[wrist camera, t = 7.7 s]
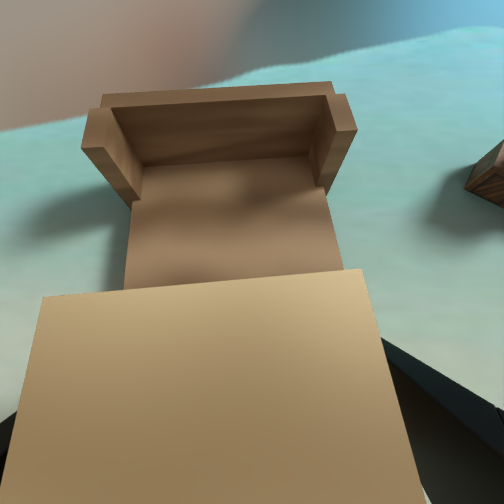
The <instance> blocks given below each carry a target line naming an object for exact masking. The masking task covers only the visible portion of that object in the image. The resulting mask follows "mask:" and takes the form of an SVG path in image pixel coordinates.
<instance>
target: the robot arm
mask: <svg viewBox="0 0 504 504" xmlns="http://www.w3.org/2000/svg"><path fill="white" fill-rule="evenodd" d="M380 338H381V337H380ZM381 341H382V345H383V348H384V352H385V356H386V359H387V363H388V367H389V370H390V374H391V377H392V381H393V385H394V388H395V392H396V395H397V399H398V403H399V406H400V410H401V413H402V417H403V421H404V424H405V428H406V432H407V435H408V439H409V442H410V446H411V450H412V453H413V457H414V460H415V464H416V468H417V471H418V475H419V479H420V482H421V485H422V487H423V488H424V490H425V492H426V494H427V496H428V498H429V500H430V502H431V503H432V504H504V411H503V410H502V409H500V408H498V407H495V406H494V405H493V404H491V403H490V402H488V401H486V400H485V399H483V398H481V397H480V396H478V395H476V394H475V393H473V392H471V391H470V390H468V389H466V388H465V387H463V386H461V385H460V384H458V383H456V382H455V381H453V380H451V379H450V378H448V377H446V376H445V375H443V374H441V373H440V372H438V371H436V370H435V369H433V368H431V367H430V366H428V365H426V364H425V363H423V362H421V361H420V360H418V359H416V358H415V357H413V356H411V355H410V354H408V353H406V352H405V351H403V350H401V349H400V348H398V347H396V346H395V345H393V344H391V343H390V342H388V341H386V340H385V339H383V338H381ZM16 415H17V411H16V412H15V413H13V414H12V415H11V416H9V417H8V418H7V419H5V420H4V421H3V422H1V423H0V486H1V481H2V477H3V472H4V468H5V463H6V459H7V455H8V450H9V446H10V441H11V437H12V432H13V428H14V424H15V419H16Z"/></svg>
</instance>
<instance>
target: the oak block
mask: <svg viewBox="0 0 504 504" xmlns="http://www.w3.org/2000/svg"><path fill="white" fill-rule="evenodd" d="M0 504H426V500H425V497H424V493H423V489H422V486H421V482H420V479H419V475H418V471H417V468H416V464H415V460H414V457H413V453H412V450H411V446H410V442H409V439H408V435H407V432H406V428H405V424H404V421H403V417H402V413H401V410H400V406H399V403H398V399H397V395H396V392H395V388H394V385H393V381H392V377H391V374H390V370H389V367H388V363H387V359H386V356H385V352H384V348H383V345H382V341H381V338H380V334H379V330H378V327H377V323H376V320H375V316H374V312H373V309H372V305H371V301H370V298H369V294H368V291H367V287H366V283H365V280H364V276H363V273H362V269H350V270H339V271H328V272H317V273H306V274H295V275H284V276H273V277H262V278H251V279H240V280H228V281H217V282H206V283H195V284H184V285H173V286H162V287H151V288H140V289H129V290H118V291H107V292H96V293H84V294H73V295H62V296H51V297H43V300H42V304H41V308H40V313H39V317H38V322H37V326H36V331H35V335H34V339H33V344H32V348H31V353H30V357H29V362H28V366H27V370H26V375H25V379H24V384H23V388H22V393H21V397H20V401H19V406H18V410H17V415H16V419H15V424H14V428H13V432H12V437H11V441H10V446H9V450H8V455H7V459H6V463H5V468H4V472H3V477H2V481H1V486H0Z"/></svg>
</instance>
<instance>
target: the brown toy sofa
mask: <svg viewBox="0 0 504 504" xmlns="http://www.w3.org/2000/svg"><path fill="white" fill-rule="evenodd" d="M357 130H358V129H357V126H356V123H355V120H354V118H353V115H352V112H351V109H350V106H349V103H348V100H347V97H346V95H345V94H335V91H334V88H333V85H332V82H331V81H326V82H308V83H291V84H273V85H256V86H238V87H221V88H204V89H186V90H169V91H151V92H135V93H116V94H103V95H102V100H101V106H100V108H96V109H89V113H88V117H87V122H86V126H85V131H84V135H83V140H82V144H81V149H82V150H83V152H84V153H85V154H86V155H87V156H88V158H89V159H90V160H91V161H92V163H93V164H94V165H95V166H96V167H97V169H98V170H99V171H100V172H101V174H102V175H103V176H104V177H105V179H106V180H107V181H108V182H109V183H110V185H111V186H112V187H113V188H114V190H115V191H116V192H117V193H118V194H119V196H120V197H121V198H122V199H123V201H124V202H125V203H126V204H127V206H128V207H129V208H130V209H131V220H130V229H129V239H128V248H127V258H126V267H125V277H124V287H123V290H129V289H140V288H151V287H162V286H173V285H184V284H195V283H206V282H217V281H228V280H240V279H251V278H262V277H273V276H284V275H295V274H306V273H317V272H328V271H339V270H344V268H343V264H342V260H341V256H340V252H339V248H338V244H337V240H336V236H335V231H334V227H333V223H332V219H331V215H330V211H329V207H328V203H327V199H326V196H327V194H328V192H329V190H330V187H331V185H332V183H333V181H334V179H335V177H336V175H337V173H338V171H339V168H340V166H341V164H342V162H343V160H344V158H345V156H346V154H347V152H348V149H349V147H350V145H351V143H352V141H353V139H354V137H355V135H356V133H357Z"/></svg>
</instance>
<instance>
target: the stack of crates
mask: <svg viewBox="0 0 504 504" xmlns="http://www.w3.org/2000/svg"><path fill="white" fill-rule="evenodd" d="M464 189H465V190H467V191H469V192H471V193H473V194H475V195H477V196H479V197H481V198H483V199H485V200H488V201H490V202H492V203H494V204H496V205H498V206H500V207H502V208H504V140H503V141H501V142H500V143H499V144H498V145H497V146H496V147H494V148H493V149H492V150H491V151H490V152H488V153H487V154H486V155H485V156H484V157H483V158H481V159H480V160H479V161H478V162H477V163H476V164H475V166H474V168H473V170H472V172H471V175H470V177H469V179H468V181H467V183H466V185H465V187H464Z"/></svg>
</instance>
